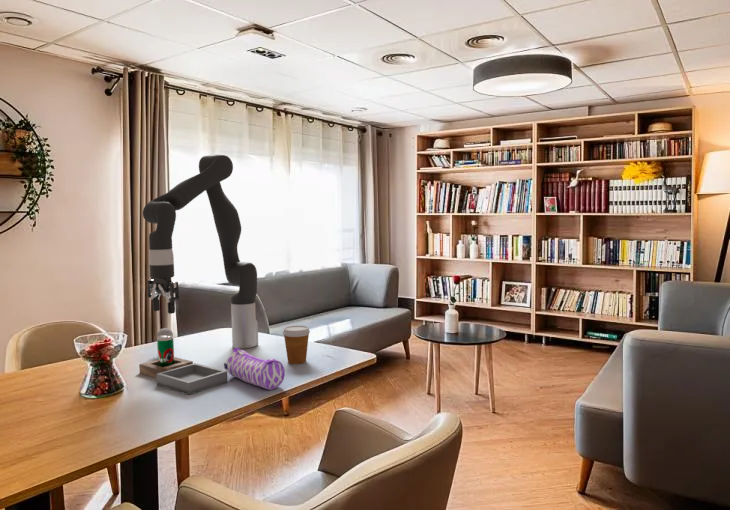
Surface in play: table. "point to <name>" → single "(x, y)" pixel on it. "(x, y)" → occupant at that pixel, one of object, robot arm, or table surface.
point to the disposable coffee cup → (296, 343)
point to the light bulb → (164, 332)
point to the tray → (192, 378)
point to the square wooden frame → (153, 368)
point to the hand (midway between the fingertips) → (163, 312)
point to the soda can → (165, 350)
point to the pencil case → (255, 369)
